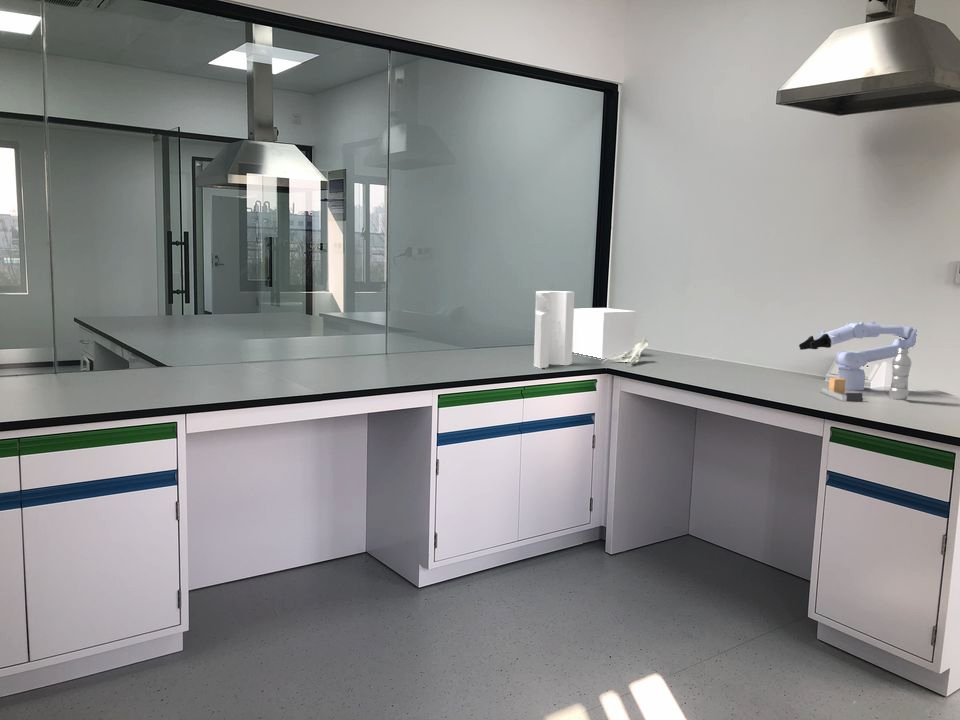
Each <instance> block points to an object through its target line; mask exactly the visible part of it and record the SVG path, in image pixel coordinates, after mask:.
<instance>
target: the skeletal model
mask: <svg viewBox="0 0 960 720" xmlns="http://www.w3.org/2000/svg"><path fill="white" fill-rule="evenodd" d="M642 338H643V339H642V341H640V342H638V343H636V344H635V347H634V349H632V350H630V351H628V352H622V353H624V354H623V355H619V356H617V357H612V356H614V355H616V354H614V355H611V356H610V357H612V358H610V357H608V358H607V359H605V360H603V361H602V363H601V364H604V363H605V361H607V360H610V361H614V362H615V363H616V362H620V363H621V362H622V363H625V362H628V364H627V366H626V367H625V368H628V367H629V366H630V365H632V366H633V365H636V364H637V363H638V362H640V360H641V359H642V358H641V354H642V351H643V350H644V349H646V348H648V346H649V343H648V342H649V341H648V340H647V338H646V337H642ZM627 353H628V355H627ZM617 354H621V353H617ZM624 355H625V358H622V356H624Z"/></svg>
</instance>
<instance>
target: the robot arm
mask: <svg viewBox="0 0 960 720" xmlns="http://www.w3.org/2000/svg"><path fill="white" fill-rule="evenodd" d="M913 328H915V329H913ZM916 328H917V327H912V326H905V325H900V324H899V325H898V324H890V325H880V324H879V323H878V322H876V321H869V322H864V321H860V322H859V323H856V322H847V323H846V324H845V325H844V326H842V327H838V328H835V329H832V330H830V331H826V332H825V330H824V329H823V330H820V331H819V335H818V336H817V337H815V338H814V336H813V335H809V337H808V338H807V339H806V340H805V341H803V342H802V343H800V344H798V347H799V350H800V351H802V350H803V351H804V350H818V349H820V348H825V349H826V348H827V349H829V348H831V347H832V346H835V345H838V344H840V343H843V342H844V343H845V342H847V341H849V340H854V339H855V338H856V339H864V338H877V337H879V336H880V335H892V336H893V337H894V336H899V337H902V338H904V339H905V340H901V339H896V338H895V340H894V342H893V341H892V342H893V344H892V343H891V344H888V345H883V346H878V347H874V348H869V349H864V350H859V351H857V350H855V351H851V350H850V351H846V350H841V351H838V352H837V354H836V355H835V363H836V365H837V368H838V370H837V371H838V372H837V378H843V379H846V381H845V391H864V390H865V384H866V383H865V381H866V379H865V378H866V373H865V371H864V370H863V369H861V367H863V366H867V363H872V362H876V361H882V360H886V359H890V358H894V357H895V356H896V355H897V354H898V353H897V349H898V348H908V349H909V348H910V347H913V346H914V345H915V343H916V336H917V334H916V332H917V329H916ZM913 348H914V347H913Z"/></svg>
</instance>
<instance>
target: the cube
mask: <svg viewBox="0 0 960 720" xmlns="http://www.w3.org/2000/svg"><path fill="white" fill-rule="evenodd" d="M636 326H637V311H636V310H627V309H620V308H619V309H618V308H610V307H589V308H588V307H586V308H585V307H584V308H581V307H579V308H574V319H573V347H572V352H574V353H579V354H583V355H588V356H593V357H597V358H601V359H605V358H608V357H610V356H611V355H614V354H616V355H614V356H612V357H617V356H619V355H623V354H624V353H622V352H628V351H630V350H632V349H634V347H635V346H636V343H635V342H636ZM617 353H621V354H617ZM627 355H628V353H627ZM612 357H610V358H612ZM622 357H625V355H624V356H622ZM601 359H600V360H601Z"/></svg>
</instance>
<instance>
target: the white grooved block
mask: <svg viewBox="0 0 960 720" xmlns="http://www.w3.org/2000/svg"><path fill="white" fill-rule="evenodd" d="M534 305H535V309H534V340H533V341H534V343H533V344H534V346H533V347H534V349H533V367H534V366H535V367H538V368H543V367H548V368H549V366H548V365H549V364H560V365H569V364H572V365H573V354H572V347H573V319H574V309H575V291H560V290H555V291H554V290H539V291H535V304H534ZM535 367H534V368H535Z"/></svg>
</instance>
